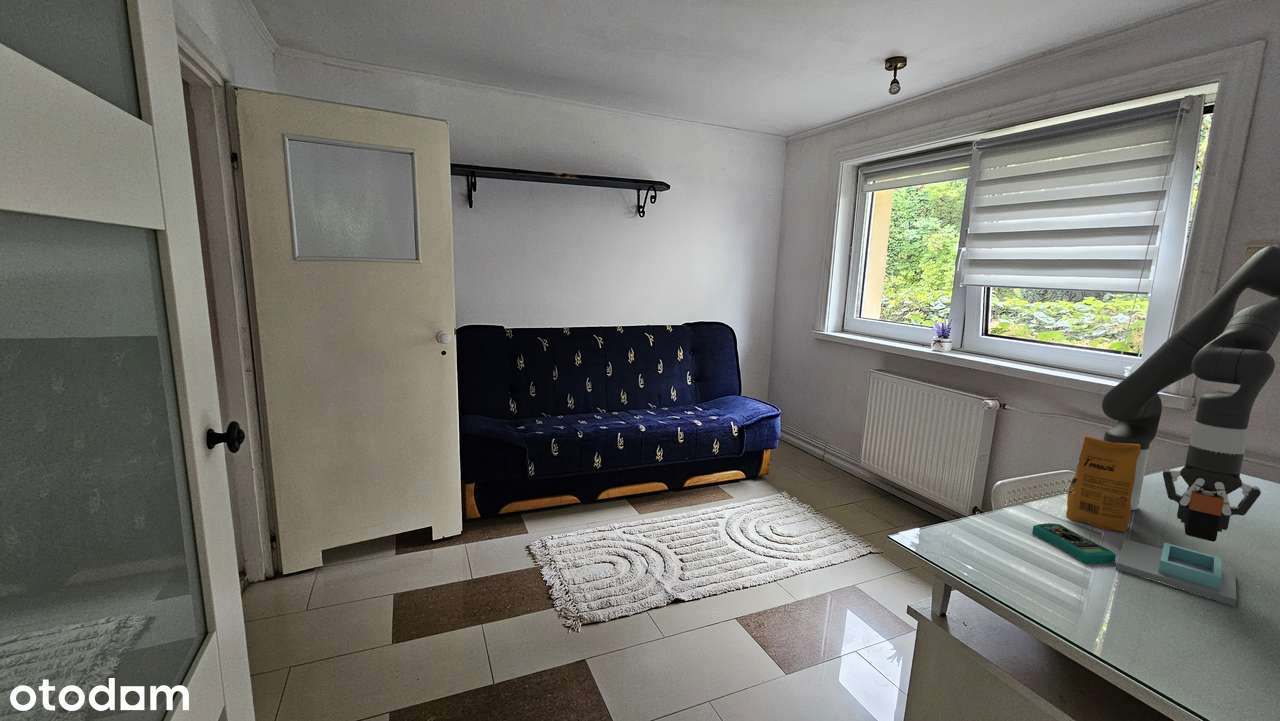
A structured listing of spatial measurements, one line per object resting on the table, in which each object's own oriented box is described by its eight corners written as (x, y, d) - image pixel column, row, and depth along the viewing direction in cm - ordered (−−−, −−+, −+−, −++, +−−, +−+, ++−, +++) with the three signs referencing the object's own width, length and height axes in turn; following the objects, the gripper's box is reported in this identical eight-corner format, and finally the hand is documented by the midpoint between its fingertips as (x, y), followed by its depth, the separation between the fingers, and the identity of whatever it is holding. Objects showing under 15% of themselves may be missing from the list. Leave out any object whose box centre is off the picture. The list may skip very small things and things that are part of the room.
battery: (1184, 535, 106) (1193, 489, 104) (1183, 524, 111) (1192, 480, 109) (1215, 543, 103) (1225, 495, 101) (1213, 532, 108) (1222, 486, 106)
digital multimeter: (1056, 532, 128) (1057, 521, 128) (1116, 564, 113) (1118, 552, 113) (1029, 533, 127) (1030, 522, 127) (1086, 566, 113) (1088, 553, 112)
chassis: (1115, 569, 111) (1118, 551, 110) (1124, 544, 121) (1127, 528, 121) (1235, 607, 98) (1239, 587, 98) (1233, 576, 109) (1237, 558, 108)
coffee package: (1066, 507, 141) (1079, 430, 138) (1128, 523, 133) (1143, 441, 129) (1062, 519, 134) (1075, 437, 131) (1127, 536, 126) (1143, 449, 122)
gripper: (1165, 441, 107) (1151, 519, 109) (1273, 459, 96) (1255, 545, 99) (1167, 434, 112) (1153, 509, 114) (1270, 451, 101) (1253, 533, 104)
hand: (1201, 525), depth 106 cm, fingers closed on battery, 4 cm apart
